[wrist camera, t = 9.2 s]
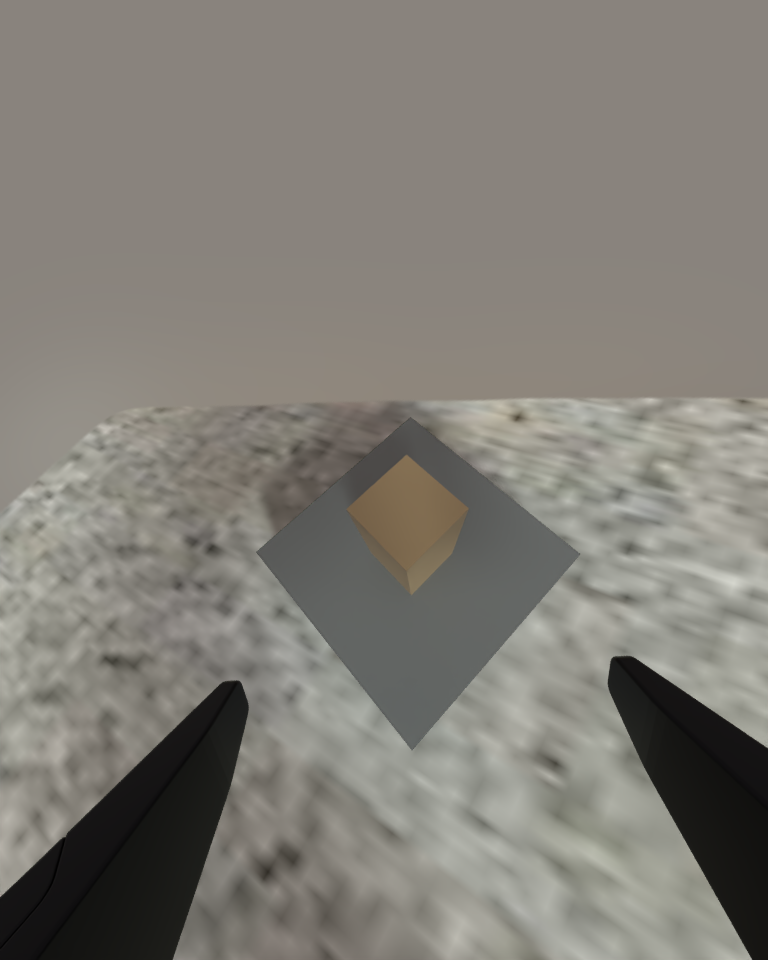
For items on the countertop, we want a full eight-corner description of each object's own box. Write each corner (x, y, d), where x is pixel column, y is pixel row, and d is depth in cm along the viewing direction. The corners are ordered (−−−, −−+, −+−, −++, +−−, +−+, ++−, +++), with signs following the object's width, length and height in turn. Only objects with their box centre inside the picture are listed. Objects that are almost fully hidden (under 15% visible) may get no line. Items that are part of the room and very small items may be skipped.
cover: (413, 727, 19) (406, 831, 9) (284, 566, 23) (176, 510, 13) (551, 569, 22) (669, 507, 11) (412, 451, 26) (406, 327, 16)
